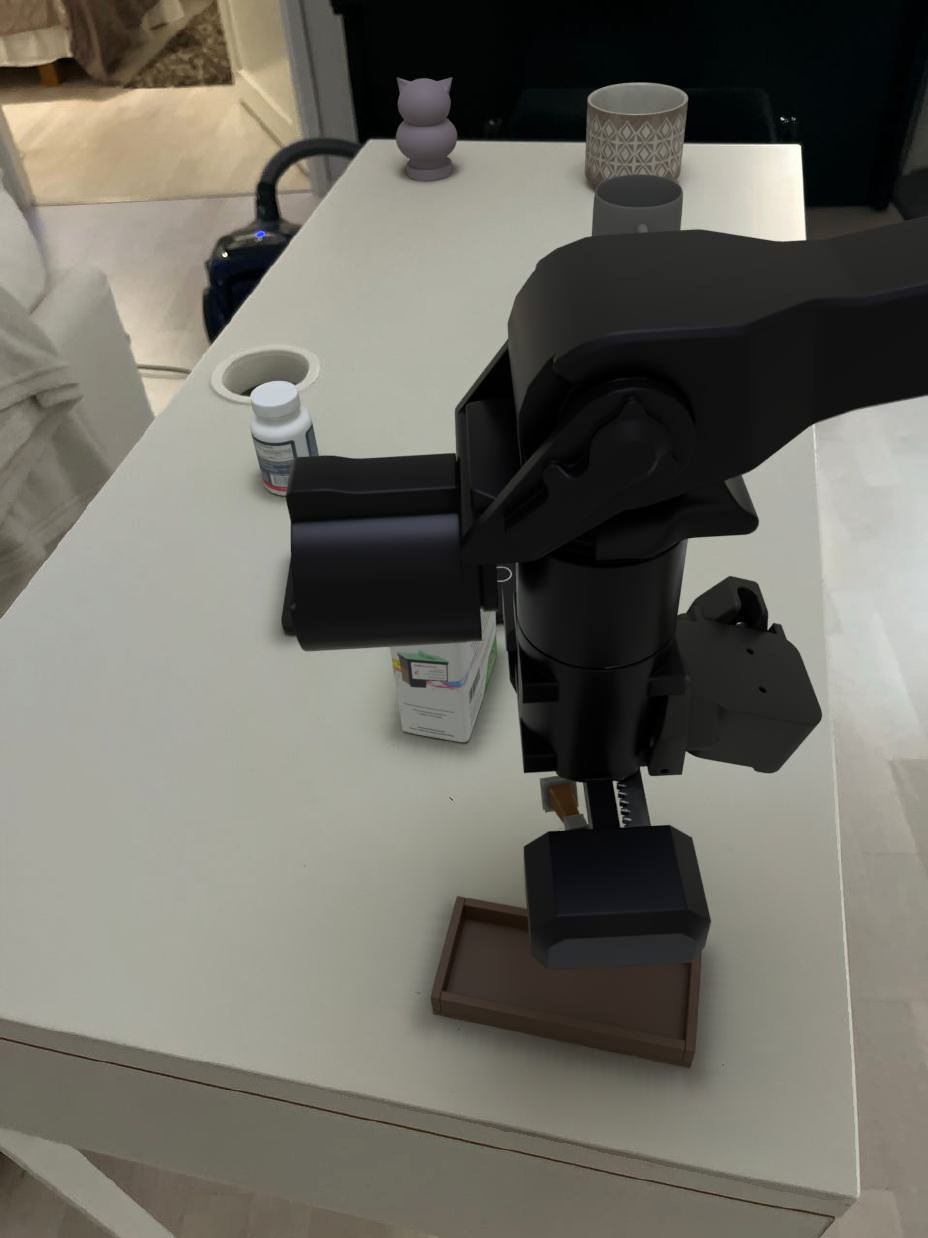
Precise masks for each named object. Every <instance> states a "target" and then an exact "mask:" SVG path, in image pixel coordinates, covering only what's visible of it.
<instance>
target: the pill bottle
mask: <svg viewBox="0 0 928 1238" xmlns="http://www.w3.org/2000/svg"><path fill="white" fill-rule="evenodd" d="M249 399H250V403H251V408H252V409H251V410H252V411H253V415H252V417H251V418H250V422H249V430H250V435H251V439H252V443H253V447H254V450H255V455H256V458H257V462H258V467H259V471H260V474H261V479H262V482H263V483H262V484H263V485H264V487H265V488H266V489H267V491H269V492H270V493H272V494H275V495H278V496H283V497H285V496H286V491H287V485H288V479H289V473H290V467H291V462H292V461H293V460H294V459H295V458H296V457H307V456H320V454H319V447H318V443H317V438H316V433H315V429H314V423H313V418H312V416H311V415H312V414H311V413H310V411H309V410H308V408H306V407H305V406H303V405H302V403H301V398H300V393H299V390H298V387H297V386H296V385H295V384H294V383H293V382H290V381H286V380H273V381H268V382H264V383H262V384H260V385H258V386H256V387H255V388H254V389H253V390H252V391H251V393H250V396H249Z"/></svg>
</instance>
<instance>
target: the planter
mask: <svg viewBox="0 0 928 1238" xmlns="http://www.w3.org/2000/svg"><path fill="white" fill-rule="evenodd" d="M586 103H587V105H586V132H585V133H586V134H585V155H584V157H585V158H584V159H585V161H584V175H585V178H586V179H587V180H588V181H589V182H590V183H591V184H593V185H595V186H596V187H597V186H598V185H599V184H600V183H602V182H603V181H605V180H607V179H610V178H613V177H617V176H622V175H631V174H647V175H656V176H661V177H665V178H668V179H671V180H673V181H675V182H677V180H678V179H679V177H680V174H681V173H682V172H681V171H682V161H683V151H684V143H685V142H684V141H685V132H686V123H687V112H688V105H689V104H688V103H689V96H688V94H687V93H686V92H685V91H684V90H682V89H680V88H678V87H675V86H672V85H668V84H663V83H658V82H657V83H656V82H623V83H617V84H616V83H615V84H611V85H607V86H603V87H601V88H598V89H596V90H593V91H592V92H591V93H590V94H589V95H588V96H587V102H586Z"/></svg>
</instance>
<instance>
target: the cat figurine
mask: <svg viewBox="0 0 928 1238" xmlns="http://www.w3.org/2000/svg"><path fill="white" fill-rule="evenodd" d="M396 81H397V86H398V91H399V96H398V100H397V108H398V112H399V115H400V116H401V118H402V121H401V123H399V125H398V127H397V131H396V134H395V143H396V146H397V148H398V149H399V151H400V152H401V154H402V155H403V156H404V157H405V158H407V159H409V160H407V161H406V174H407V176H408V177H409V178H410V179H411V180H415V181H420V182H421V181H422V182H432V181H439V180H442V179H445V178H447V177H449V176H450V175H451V174H453V161H452V158H451V157H449V155H451V154H452V152H453V151H454V150H455V148H456V146H457V142H458V131H457V129H456V127H455V125H454V124H453V122H451V121H450V119H449V118H447V117H448V116H449V114H450V110H451V106H452V105H451V102H452V101H451V97H450V91H451V86H452V81H453V76H452V77H448V78H445V79H440V80H434V79H431V78H426V77H425V78H424V77H423V78H416V79H414V80H411V81H410V80H407V79H404V78H400V77H396Z"/></svg>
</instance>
